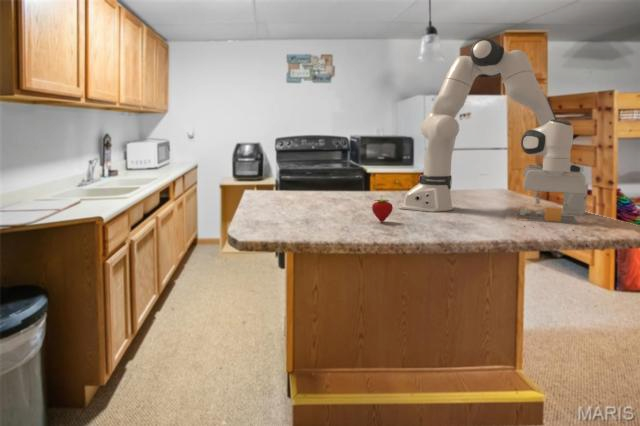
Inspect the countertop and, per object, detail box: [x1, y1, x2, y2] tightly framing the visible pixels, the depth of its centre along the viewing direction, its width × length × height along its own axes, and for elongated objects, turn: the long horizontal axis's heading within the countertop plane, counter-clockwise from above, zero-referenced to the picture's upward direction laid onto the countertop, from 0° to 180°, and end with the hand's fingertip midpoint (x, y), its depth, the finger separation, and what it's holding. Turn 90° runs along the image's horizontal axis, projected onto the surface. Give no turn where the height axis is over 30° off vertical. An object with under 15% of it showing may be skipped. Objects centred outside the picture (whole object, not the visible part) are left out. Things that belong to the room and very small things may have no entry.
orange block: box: [544, 205, 563, 222], centre depth 178 cm, size 5×5×4 cm
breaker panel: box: [516, 210, 579, 225], centre depth 182 cm, size 20×16×2 cm
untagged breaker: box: [519, 205, 526, 216], centre depth 187 cm, size 2×2×4 cm
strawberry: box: [371, 195, 393, 223], centre depth 178 cm, size 6×8×10 cm
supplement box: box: [561, 182, 589, 216], centre depth 193 cm, size 7×7×13 cm
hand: (551, 204), depth 177 cm, fingers open, 8 cm apart
